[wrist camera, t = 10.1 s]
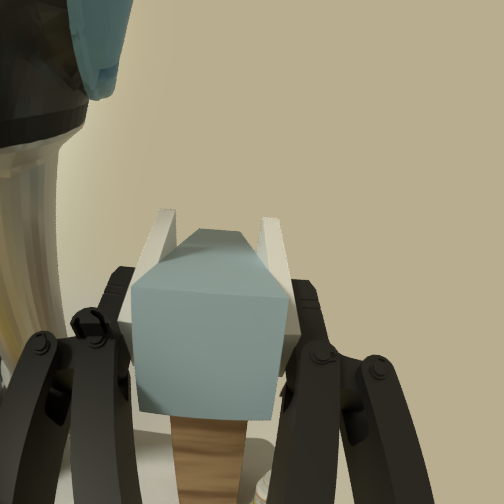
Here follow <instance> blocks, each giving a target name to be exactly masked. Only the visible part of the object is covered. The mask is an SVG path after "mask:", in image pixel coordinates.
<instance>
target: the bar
mask: <svg viewBox="0 0 504 504" xmlns="http://www.w3.org/2000/svg"><path fill="white" fill-rule="evenodd" d="M288 302H289V297H288V296H287V295H286V293H285V292H284V291H283V289H282V288H281V287H280V285H279V284H278V282H277V281H276V280H275V278H274V277H273V276H272V274H271V273H270V272H269V270H268V269H267V268H266V266H265V265H264V264H263V262H262V261H261V260H260V258H259V257H258V255H257V254H256V253H255V252H254V250H253V249H252V247H251V246H250V245H249V243H248V242H247V240H246V239H245V238H244V236H243V235H242V234H241V232H238V231H225V230H212V229H198V230H197V231H196V232H194V233H193V234H192V235H191V236H189V237H188V238H187V239H186V240H185V241H183V242H182V243H181V244H180V245H179V246H177V247H176V248H175V249H174V250H173V251H172V252H171V253H169V254H168V255H167V256H166V257H165V258H164V259H162V260H161V261H160V262H159V263H157V264H156V265H155V266H154V267H152V268H151V269H150V270H149V271H148V272H147V273H145V274H144V275H143V276H142V277H141V278H140V279H138V280H137V281H136V282H135V283H134V284H133V285H132V286H131V320H132V340H133V354H134V366H135V377H136V386H137V395H138V403H139V410H140V411H141V412H148V413H155V414H163V415H171V416H180V417H190V418H203V419H219V420H271V417H272V411H273V405H274V399H275V392H276V386H277V380H278V374H279V367H280V361H281V354H282V347H283V340H284V333H285V325H286V318H287V310H288Z"/></svg>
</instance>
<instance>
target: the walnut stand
mask: <svg viewBox="0 0 504 504" xmlns="http://www.w3.org/2000/svg"><path fill="white" fill-rule="evenodd" d="M170 422H171V434H172V446H173V456H174V465H175V474H176V482H177V489H178V497H179V503H180V504H237V498H238V491H239V484H240V476H241V469H242V461H243V454H244V446H245V438H246V430H247V422H248V420H219V419H203V418H190V417H180V416H171V415H170Z"/></svg>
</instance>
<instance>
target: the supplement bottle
mask: <svg viewBox="0 0 504 504" xmlns="http://www.w3.org/2000/svg"><path fill="white" fill-rule="evenodd" d="M271 471H272V469H271V470H269V471H268V472H267V473H266V474H265V476H263V477H262V478H261V479H260V480H259V481H258V482H257V485H256V490H255V495H254V500H253V504H266V499H267V494H268V488H269V483H270V477H271Z"/></svg>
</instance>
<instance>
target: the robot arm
mask: <svg viewBox="0 0 504 504" xmlns="http://www.w3.org/2000/svg"><path fill="white" fill-rule="evenodd" d="M132 4H133V0H0V504H54V502H55V495H56V489H57V483H58V477H59V472H60V467H61V462H62V457H63V453H64V448H65V444H66V440H67V436H68V433H71V472H72V486H73V496H74V504H142V498H141V492H140V486H139V479H138V472H137V464H136V455H135V446H134V435H133V422H132V406H131V381H130V373H129V370H128V368H129V364H130V360H131V361H132V364H133V366H134V354H133V340H132V320H131V286H132V285H133V284H134V283H135V282H136V281H137V280H138V279H140V278H141V277H142V276H143V275H144V274H145V273H147V272H148V271H149V270H150V269H151V268H152V267H154V266H155V265H156V264H157V263H159V262H160V261H161V260H162V259H164V258H165V257H166V256H167V255H168V254H169V253H171V252H172V251H173V250H174V249H175V248H176V210H174V209H173V210H172V209H160V210H159V212H158V214H157V216H156V219H155V221H154V223H153V226H152V228H151V231H150V233H149V236H148V238H147V240H146V243H145V246H144V248H143V250H142V253H141V255H140V258H139V261H138V263H137V266H136V268H134V267H123V266H120V267H118V268H117V269H116V270H115V272H113V273H112V274H111V276H110V279H109V281H108V284H107V286H106V288H105V291H104V294H103V295H102V298H101V301H100V303H99V305H98V308H95V307H89V308H84V309H82V310H80V311H78V312H77V313H76V314H75V315H74V316H73V317H72V320H71V322H70V325H71V327H72V329H73V331H74V333H75V335H76V336H75V337H67V332H66V327H65V321H64V315H63V308H62V301H61V293H60V285H59V275H58V264H57V247H56V180H57V164H58V152H59V149H60V147H61V146H62V145H63V144H64V143H65V142H66V141H67V140H69V139H70V138H71V137H72V136H73V135H74V134H76V133H77V132H78V131H79V130H80V129H82V127H83V125H84V123H85V118H86V113H87V107H88V103H89V99H90V100H95V101H99V100H100V99H102V98H107V97H109V96H111V95H112V93H113V91H114V89H115V84H116V77H117V72H118V66H119V58H120V54H121V51H122V47H123V43H124V38H125V33H126V29H127V24H128V20H129V16H130V12H131V8H132ZM256 254H257V255H258V257H259V258H260V260H261V261H262V262H263V264H264V265H265V266H266V268H267V269H268V270H269V272H270V273H271V274H272V276H273V277H274V278H275V280H276V281H277V282H278V284H279V285H280V287H281V288H282V289H283V291H284V292H285V293H286V295H287V296H288V297H289V302H288V310H287V318H286V325H285V333H284V340H283V347H282V354H281V361H280V367H279V374H278V377H282V376H283V374H284V372H285V371H286V379H287V381H286V383H285V385H284V387H283V389H282V391H281V393H280V397H282V396H283V397H282V405H281V412H280V419H279V426H278V433H277V440H276V446H275V452H274V459H273V465H272V471H271V477H270V483H269V488H268V494H267V499H266V504H334V499H335V489H336V478H337V464H338V448H339V428H340V433H341V437H342V442H343V447H344V452H345V457H346V461H347V467H348V472H349V476H350V482H351V487H352V492H353V498H354V503H355V504H434V499H433V494H432V490H431V486H430V481H429V478H428V473H427V470H426V466H425V462H424V458H423V455H422V451H421V448H420V444H419V441H418V437H417V434H416V431H415V427H414V424H413V421H412V418H411V415H410V412H409V409H408V406H407V403H406V400H405V397H404V394H403V391H402V388H401V385H400V383H399V380H398V377H397V374H396V372H395V369H394V367H393V365H392V364H391V362H390V361H388V359H386V358H385V357H383V356H380V355H371V356H368V357H366V359H364V360H363V361H361V360H357V359H353V358H349V357H346V356H343V355H341V354H340V353H338V351H337V350H336V349H335V347H334V346H333V345H331V344H330V342H329V339H328V336H327V331H326V327H325V323H324V319H323V315H322V312H321V310H320V308H321V307H320V304H319V302H318V296H317V292H316V289H315V288H314V286H313V285H312V284H311V283H310V281H309V280H297V279H291V277H290V273H289V267H288V262H287V257H286V252H285V247H284V242H283V237H282V232H281V227H280V223H279V218H270V217H262V223H261V229H260V234H259V240H258V246H257V251H256Z"/></svg>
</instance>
